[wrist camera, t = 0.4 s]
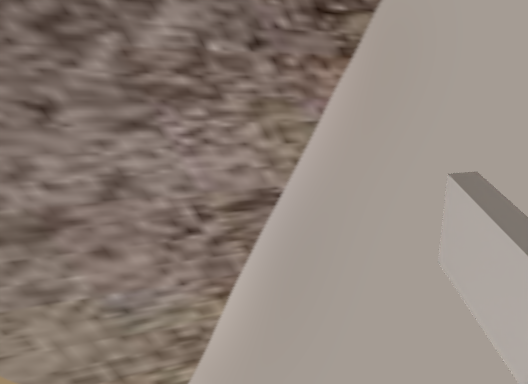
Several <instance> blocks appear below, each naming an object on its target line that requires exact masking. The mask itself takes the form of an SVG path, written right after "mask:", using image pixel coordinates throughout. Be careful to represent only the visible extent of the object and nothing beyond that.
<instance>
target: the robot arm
mask: <svg viewBox="0 0 528 384" xmlns="http://www.w3.org/2000/svg"><path fill="white" fill-rule="evenodd" d="M438 263H439V264H440V266H441V267H442V269H443V271H444V272H445V273H446V275H447V277H448V278H449V279H450V281H451V283H452V284H453V286H454V287H455V289H456V290H457V292H458V293H459V295H460V296H461V298H462V299H463V301H464V302H465V304H466V305H467V307H468V308H469V310H470V311H471V313H472V314H473V316H474V317H475V319H476V320H477V322H478V323H479V325H480V326H481V328H482V329H483V331H484V332H485V334H486V335H487V337H488V338H489V340H490V341H491V343H492V344H493V346H494V347H495V349H496V351H497V352H498V354H499V355H500V356H501V358H502V360H503V361H504V363H505V364H506V366H507V367H508V369H509V370H510V372H511V373H512V375H513V376H514V378H515V379H516V381H517V382H518V384H528V217H527V216H526V215H525V214H524V213H523V212H521V211H520V210H519V209H518V208H517V207H516V206H515V205H513V203H511V202H510V201H509V200H508V199H507V198H506V197H505V196H503V195H502V194H501V193H500V192H499V191H498V190H497V189H496V188H495V187H494V186H492V185H491V184H490V183H489V182H488V181H487V180H486V179H484V178H483V177H482V176H481V175H480V174H479V173H478V172H465V173H453V174H448V178H447V187H446V196H445V205H444V213H443V223H442V232H441V241H440V251H439V259H438Z"/></svg>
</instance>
